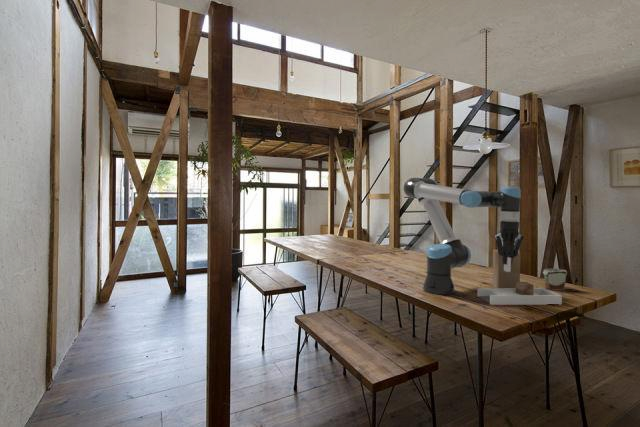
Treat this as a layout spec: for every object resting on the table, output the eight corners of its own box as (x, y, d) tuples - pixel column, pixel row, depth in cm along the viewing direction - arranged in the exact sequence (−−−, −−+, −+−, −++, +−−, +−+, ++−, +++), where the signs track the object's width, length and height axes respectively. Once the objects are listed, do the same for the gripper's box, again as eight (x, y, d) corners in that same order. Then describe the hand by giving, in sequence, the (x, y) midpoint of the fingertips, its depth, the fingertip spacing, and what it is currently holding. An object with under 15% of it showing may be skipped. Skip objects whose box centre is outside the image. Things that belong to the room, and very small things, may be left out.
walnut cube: (522, 295, 146) (522, 284, 146) (515, 292, 151) (515, 281, 151) (533, 295, 146) (533, 284, 146) (526, 292, 151) (526, 281, 151)
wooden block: (519, 292, 161) (521, 253, 160) (498, 291, 163) (499, 252, 162) (512, 287, 170) (513, 250, 170) (491, 286, 172) (492, 249, 172)
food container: (556, 286, 173) (556, 267, 173) (566, 289, 167) (567, 270, 167) (536, 287, 171) (537, 268, 171) (546, 290, 165) (547, 271, 165)
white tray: (490, 304, 142) (491, 295, 142) (477, 296, 154) (477, 288, 154) (561, 304, 143) (561, 295, 143) (542, 296, 155) (542, 288, 155)
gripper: (500, 221, 143) (497, 273, 144) (529, 221, 143) (526, 273, 145) (491, 219, 150) (488, 269, 152) (518, 220, 151) (515, 269, 152)
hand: (507, 271), depth 148 cm, fingers closed
